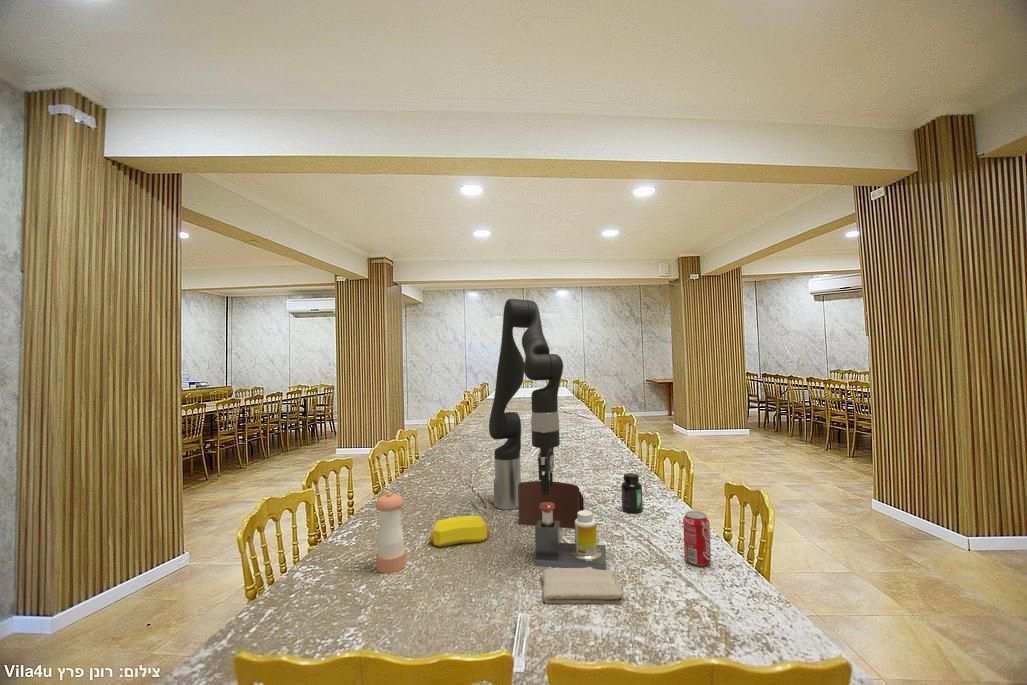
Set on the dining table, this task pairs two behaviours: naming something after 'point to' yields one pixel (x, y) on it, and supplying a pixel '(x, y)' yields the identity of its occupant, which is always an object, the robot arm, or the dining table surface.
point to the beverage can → (697, 538)
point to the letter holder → (560, 494)
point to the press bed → (563, 550)
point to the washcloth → (581, 586)
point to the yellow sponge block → (459, 530)
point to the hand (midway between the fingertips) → (547, 490)
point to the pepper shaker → (390, 534)
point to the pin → (547, 513)
